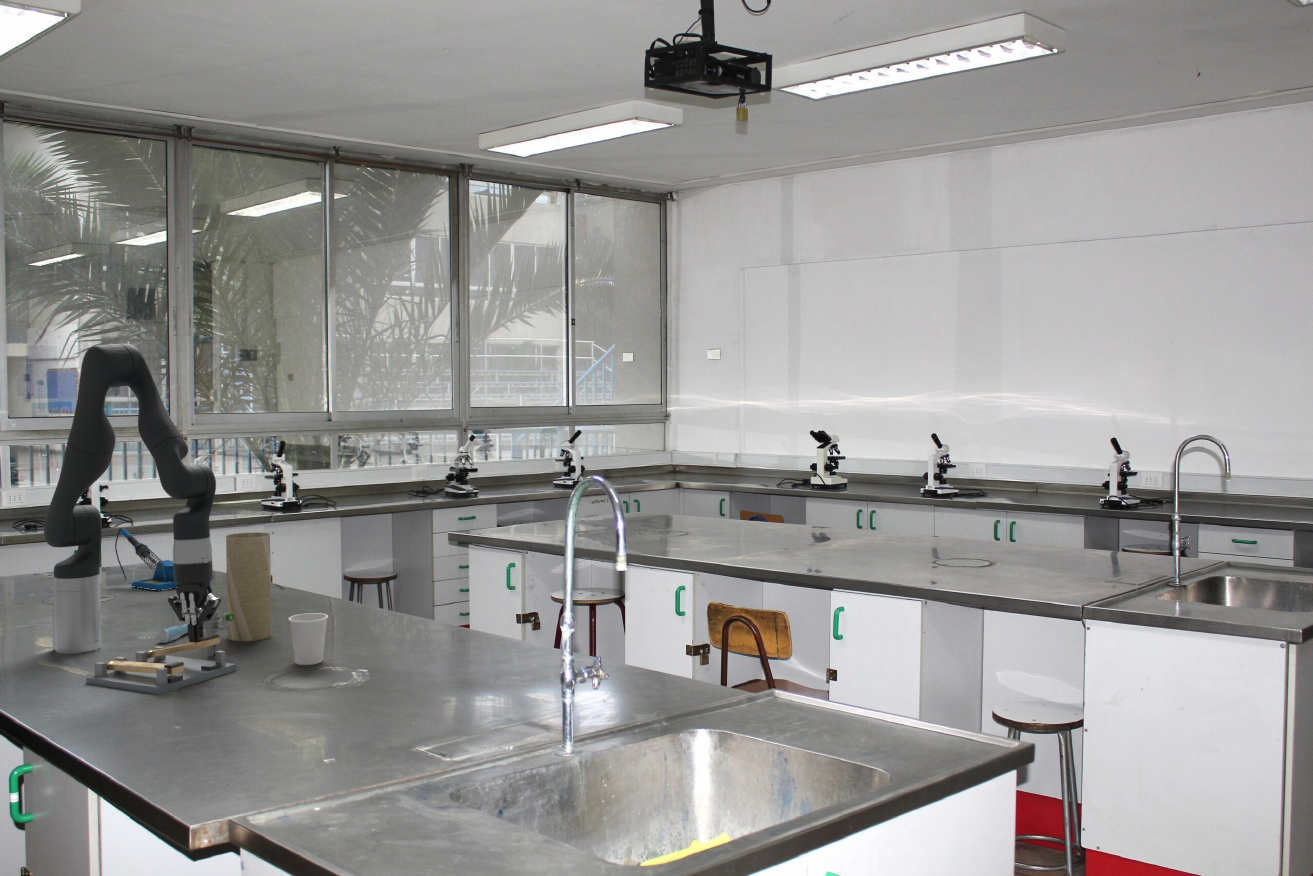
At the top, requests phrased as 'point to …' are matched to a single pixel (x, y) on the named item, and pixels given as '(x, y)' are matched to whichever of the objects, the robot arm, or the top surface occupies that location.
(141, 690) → the mount plate
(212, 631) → the mechanical component
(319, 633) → the dixie cup
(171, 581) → the soldering iron
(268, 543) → the tube
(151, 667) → the strap front
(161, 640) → the 3d printing pen
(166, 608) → the top surface
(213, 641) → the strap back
